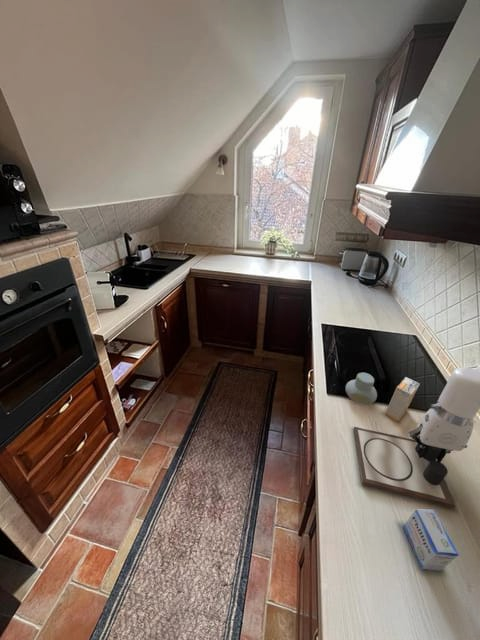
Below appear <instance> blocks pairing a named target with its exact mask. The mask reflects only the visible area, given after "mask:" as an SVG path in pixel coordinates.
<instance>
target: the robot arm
mask: <svg viewBox="0 0 480 640" xmlns="http://www.w3.org/2000/svg"><path fill="white" fill-rule="evenodd" d="M479 411H480V364H479V365H478V366H476V367H475V368H472V367H467V366H466V367H465V366H464V367H463V366H462V367H458V368H455V369H454V371H452V373H451V375H450V376H449V378H448V380H447V382H446V384H445V386H444V387H443V390H442V391H441V394H440V396H439V397H438V399H437V400H436V402H435V403H430V404H429V409H428V410H427V411H426V412H425V413H424V415H423V416H422V417H421V419H420V420H419V422H418V424H417V426H416V428H413V429H411V430H409V431H408V435H409V437H410V439H413V440H416V442H417V443H418V444H417V445H416V447H415V450H416V452H417V453H418V456H419V458H422V457H423V456H424V454H425V452H426V447H427V446H428V445H430V446H434V447H439V448H443V449H442V451H441V452H440V454H439V456H438V457H437V459H436V461H439V462H441V463H442V461H443V459H444V458H445V457H446V455H450V454H451V453H452V452H453V451H455V452H458V451H459V452H461V451H463V450H464V449H467V448H468V442H469V440H470V438H471V437H472V433H473V430H474V424H475V423H474V421H473V420H474V418H475V417H476V415H477V414H478V413H479Z"/></svg>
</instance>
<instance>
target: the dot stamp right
mask: <svg viewBox="0 0 480 640" xmlns="http://www.w3.org/2000/svg"><path fill="white" fill-rule="evenodd" d="M448 473H449V471H448V467H446V465H445V464H443V463H442V461H441V462H439V461H437V459H436V460H432V461H430V463H429V464H428V466H427V467H426V469H425V470H424V472H423V476H424V478H425V479H426V480H427V481H428V482H429V483H430V484H432V485H439V484H440V483H441V482H442V480H443V479H445V478H446V477H447V475H448Z"/></svg>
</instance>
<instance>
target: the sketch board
mask: <svg viewBox="0 0 480 640" xmlns="http://www.w3.org/2000/svg"><path fill="white" fill-rule="evenodd" d="M352 430H353V437H354V444H355V449H356V456H357V462H358V469H359V475H360V482H361V483H360V484H361V486H366V487H370V488H373V489H377V490H381V491H385V492H388V493H389V492H390V493H393V494H397V495H400V496H404V497H409V498H411V499H416V500H420V501H424V502H426V503H432V504H435V505H438V506H442V507H446V508H451V509H455V507H457V505H456V502H455V500H454V498H453V495H452V494H451V491H450V489H449V487H448V484H447V482H446V479H445V478H444V479H443V480H442V482H441V483H440V484H439V485H432V484H430V483H429V482H428V481H427V480H426V479H425V478H424V476H423V472H424V470H425V469H426V467H427V466H428V464H429V463H430V461H427V460H426V459H424V458H423V457H422V458H419V456H418V453H417V452H416V450H415V447H416V445H417V444H418V443H417V442H416V440H414V439H413V438H408V437H403V436H398V435H394V434H391V433H390V434H389V433H386V432H385V433H384V432H379V431H376V430H371V429H367V428H362V427H356V426H353V429H352Z"/></svg>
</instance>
